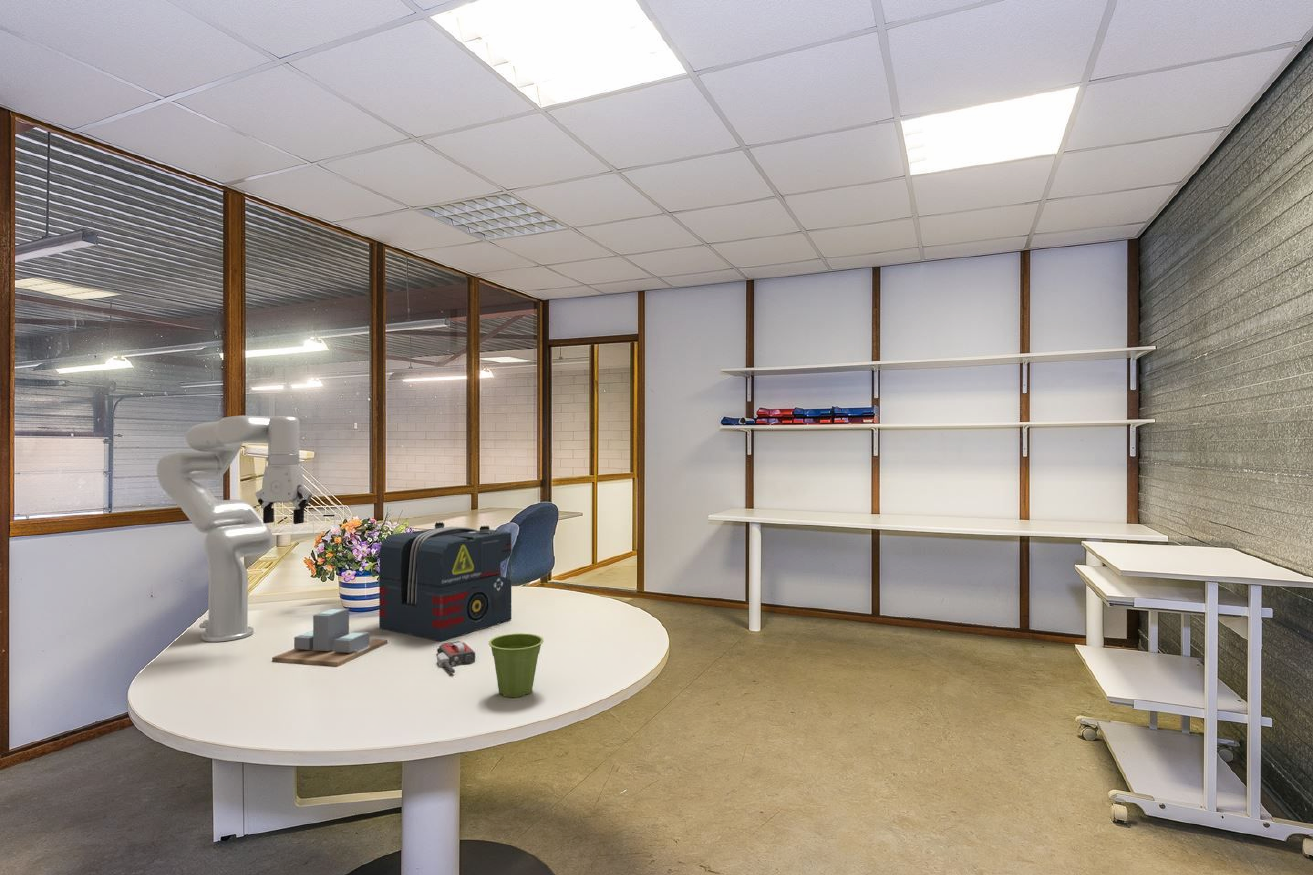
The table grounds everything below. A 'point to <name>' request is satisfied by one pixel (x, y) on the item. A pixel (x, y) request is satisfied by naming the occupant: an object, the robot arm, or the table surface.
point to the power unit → (444, 581)
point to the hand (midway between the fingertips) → (283, 523)
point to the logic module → (329, 628)
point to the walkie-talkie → (454, 654)
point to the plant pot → (515, 662)
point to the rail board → (342, 651)
